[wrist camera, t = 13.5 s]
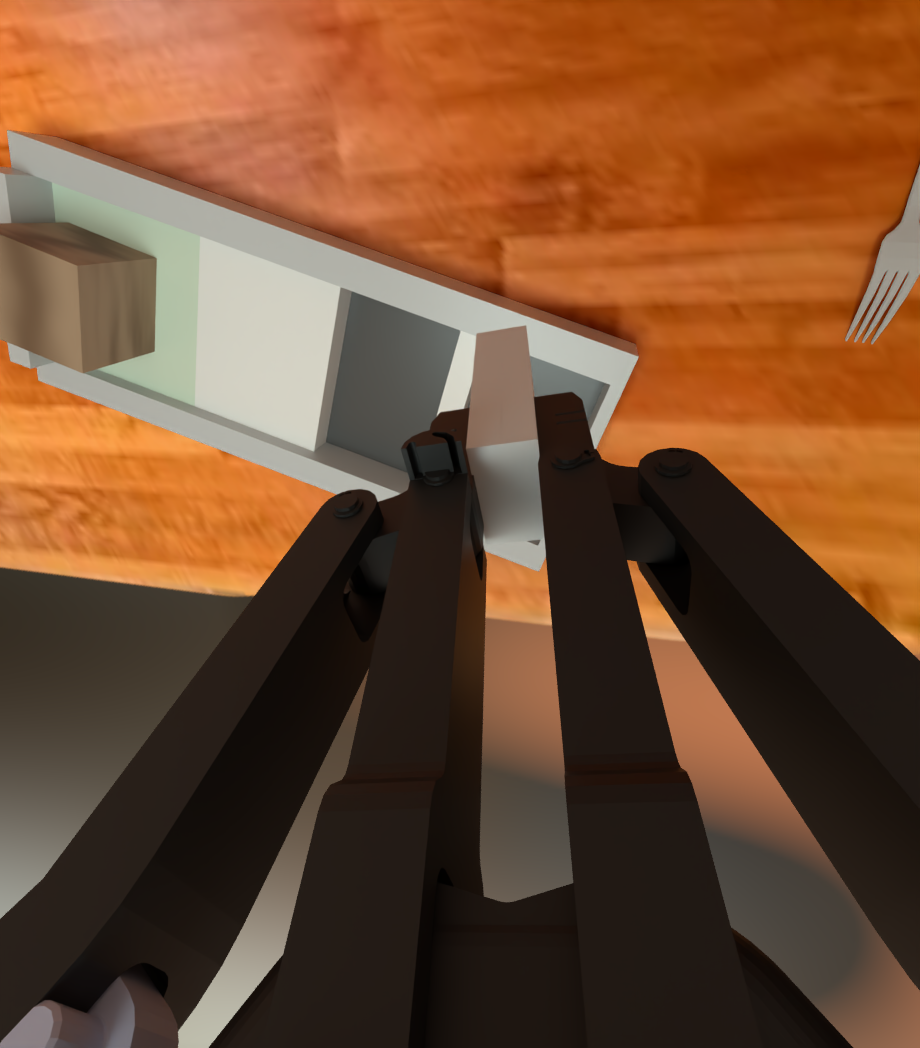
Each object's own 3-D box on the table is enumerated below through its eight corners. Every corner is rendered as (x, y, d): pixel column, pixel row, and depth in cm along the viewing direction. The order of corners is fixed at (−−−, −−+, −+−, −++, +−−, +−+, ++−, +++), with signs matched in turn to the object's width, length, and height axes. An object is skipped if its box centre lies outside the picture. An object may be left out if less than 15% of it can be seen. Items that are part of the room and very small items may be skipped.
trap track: (635, 344, 43) (640, 364, 37) (543, 546, 53) (535, 587, 48) (57, 137, 45) (-26, 125, 39) (77, 369, 56) (14, 387, 50)
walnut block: (156, 258, 45) (77, 265, 38) (154, 351, 49) (82, 373, 43) (68, 222, 46) (-26, 223, 39) (73, 318, 50) (-11, 334, 43)
